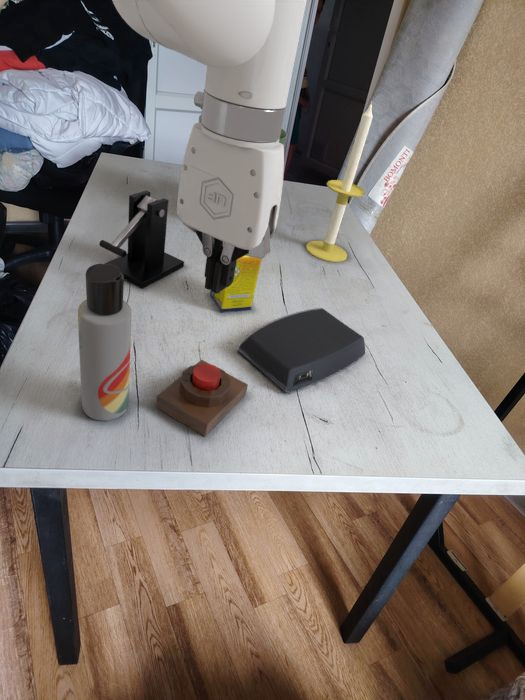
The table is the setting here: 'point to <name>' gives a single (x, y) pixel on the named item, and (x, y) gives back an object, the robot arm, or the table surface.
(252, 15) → the robot arm
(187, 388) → the button block
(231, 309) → the supplement box
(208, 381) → the button
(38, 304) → the table surface
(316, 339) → the hard drive
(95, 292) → the lotion bottle
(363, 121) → the candle
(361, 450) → the table surface
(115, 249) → the lever handle
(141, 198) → the lever bracket
